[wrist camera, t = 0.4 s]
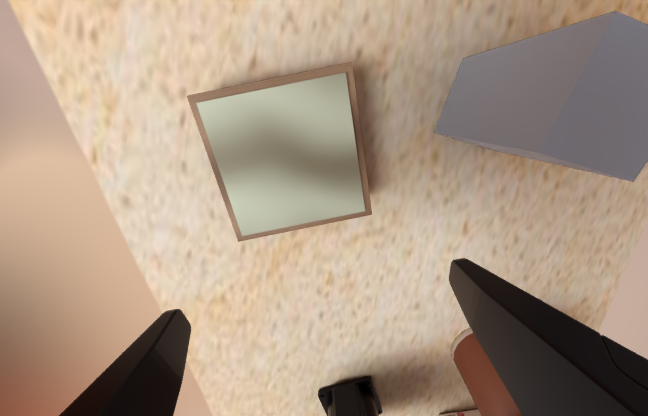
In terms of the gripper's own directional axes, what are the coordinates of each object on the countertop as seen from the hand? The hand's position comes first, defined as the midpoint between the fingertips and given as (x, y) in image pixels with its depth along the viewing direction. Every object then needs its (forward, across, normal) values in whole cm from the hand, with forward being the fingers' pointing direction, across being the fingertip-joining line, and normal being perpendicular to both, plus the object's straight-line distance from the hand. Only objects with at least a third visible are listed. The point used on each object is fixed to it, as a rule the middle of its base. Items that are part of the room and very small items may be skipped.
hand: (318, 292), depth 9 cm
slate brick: (+14, -14, -1) cm, 20 cm away
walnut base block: (+14, +1, 0) cm, 14 cm away
